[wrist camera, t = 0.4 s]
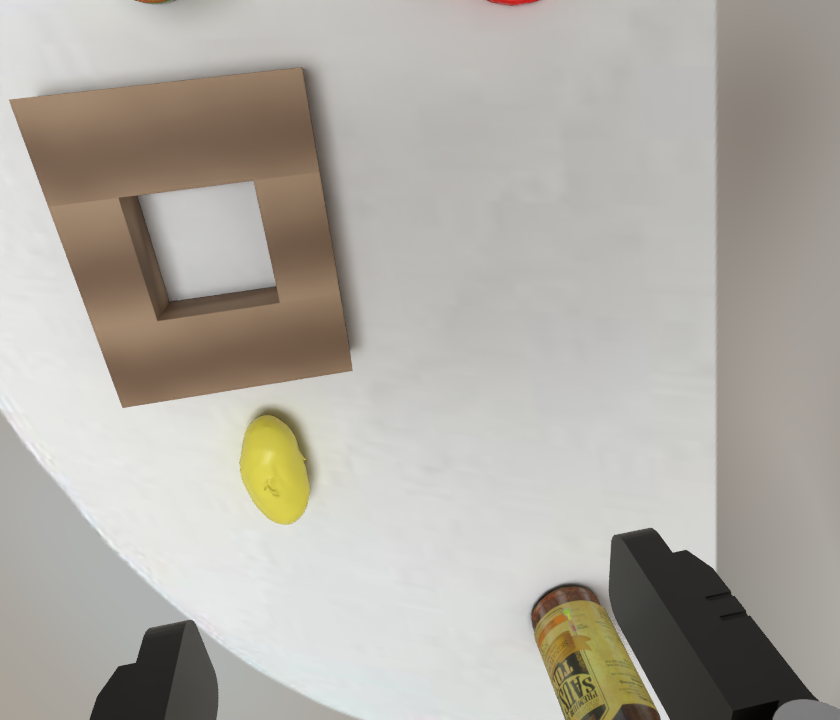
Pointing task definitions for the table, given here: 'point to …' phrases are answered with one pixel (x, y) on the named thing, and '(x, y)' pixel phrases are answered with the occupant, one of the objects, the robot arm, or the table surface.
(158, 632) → the robot arm
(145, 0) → the supplement bottle
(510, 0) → the tow hook
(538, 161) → the table surface
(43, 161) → the socket plate
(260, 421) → the yellow potato
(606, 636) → the sauce bottle
